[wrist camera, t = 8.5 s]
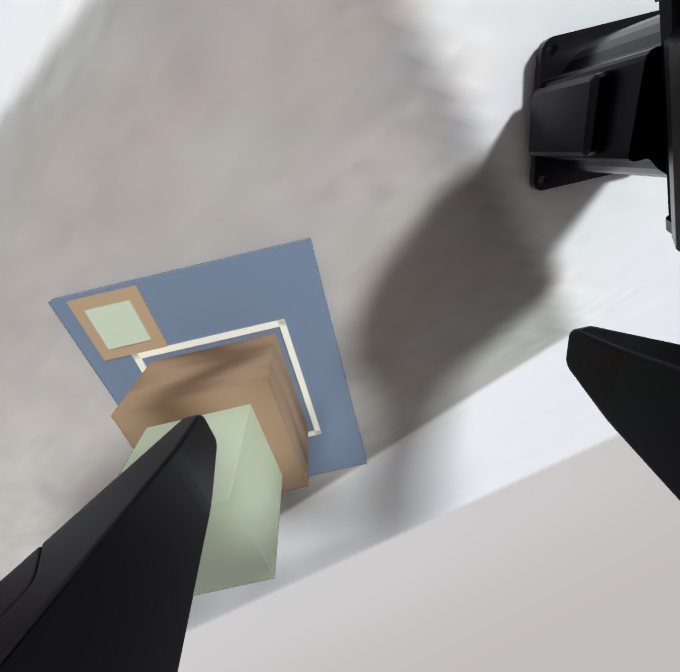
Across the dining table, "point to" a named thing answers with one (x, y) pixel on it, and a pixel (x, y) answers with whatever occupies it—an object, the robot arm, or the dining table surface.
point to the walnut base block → (224, 397)
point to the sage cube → (235, 501)
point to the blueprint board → (226, 333)
